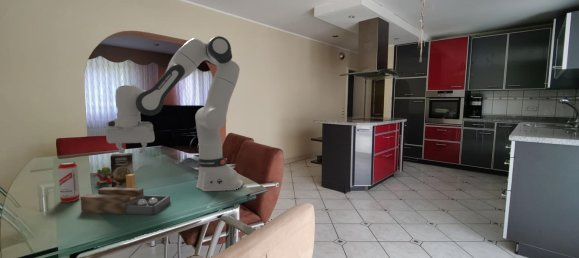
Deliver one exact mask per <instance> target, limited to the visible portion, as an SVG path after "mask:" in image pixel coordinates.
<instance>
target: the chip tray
mask: <svg viewBox="0 0 579 258" xmlns="http://www.w3.org/2000/svg"><path fill="white" fill-rule="evenodd" d="M151 198H156V199H157V200H158V203H157V204H155V205H154V206H149V205H148V201H149V199H151ZM140 199H145V200H146V201H147V206H137V202H138V200H140ZM170 204H171V196H170V195H158V194H157V195H155V194H154V195H153V194H144V195H143V196H142V197H140V198H138V199H136V200H135V201H133V202H131V203H129V204H128V205H126V206H125V214H124V215H148V216H149V215H152V216H155V215H156V214H157V213H159V212H160V211H161V210H163V209H164V208H165V207H166V206H168V205H170Z"/></svg>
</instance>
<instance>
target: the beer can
mask: <svg viewBox="0 0 579 258" xmlns="http://www.w3.org/2000/svg"><path fill="white" fill-rule="evenodd" d="M78 171H79V170H78V165H77V164H76V161H64V162H61V163H59V166H58V167H57V173H58V186H59V198H60V201H61V202H62V203H71V202H70V201H73V202H75V200H76V201H78V200H77V199H80V198H81V195H80V185H79V184H80V183H79V172H78Z"/></svg>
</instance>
